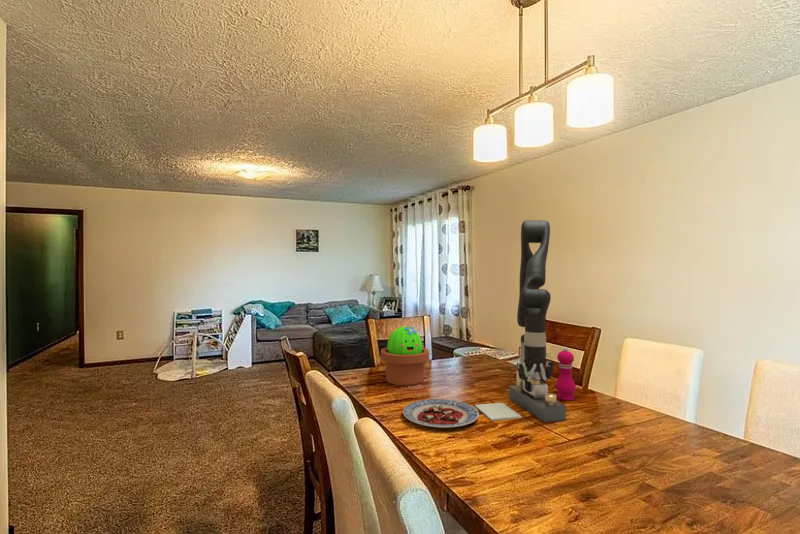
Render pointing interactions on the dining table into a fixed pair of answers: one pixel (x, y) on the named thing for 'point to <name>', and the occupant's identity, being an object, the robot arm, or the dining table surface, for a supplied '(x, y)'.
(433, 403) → the ceramic plate
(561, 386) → the pepper mill
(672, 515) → the dining table surface
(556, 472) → the dining table surface
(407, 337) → the potted cactus
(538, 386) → the white rectangular block
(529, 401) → the hand plane
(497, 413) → the rubber mat
